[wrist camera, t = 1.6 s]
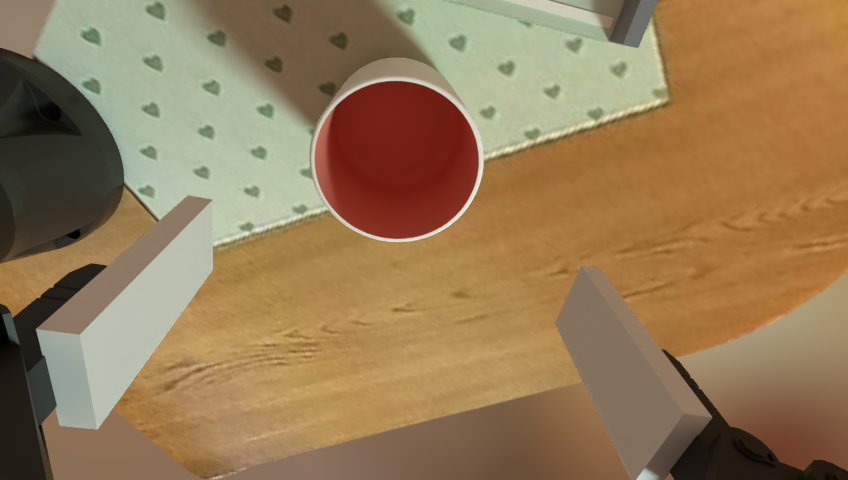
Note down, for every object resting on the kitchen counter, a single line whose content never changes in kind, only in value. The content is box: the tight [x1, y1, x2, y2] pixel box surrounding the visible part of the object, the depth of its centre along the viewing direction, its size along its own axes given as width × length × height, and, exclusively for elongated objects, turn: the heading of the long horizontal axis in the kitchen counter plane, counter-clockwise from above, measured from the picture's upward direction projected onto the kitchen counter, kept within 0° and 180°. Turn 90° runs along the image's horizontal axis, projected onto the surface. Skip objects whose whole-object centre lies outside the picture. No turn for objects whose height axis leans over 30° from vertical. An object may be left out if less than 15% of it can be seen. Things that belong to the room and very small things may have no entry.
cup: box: [310, 57, 484, 242], centre depth 29 cm, size 10×10×10 cm
